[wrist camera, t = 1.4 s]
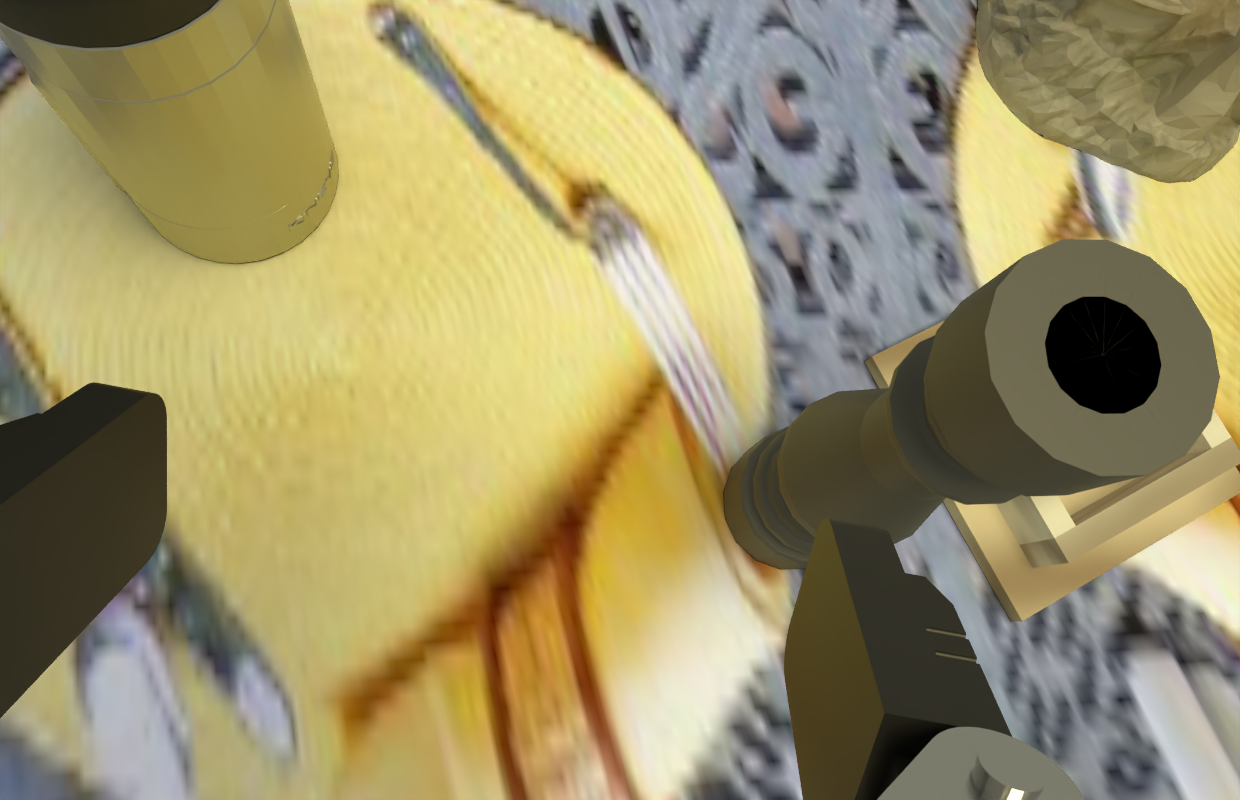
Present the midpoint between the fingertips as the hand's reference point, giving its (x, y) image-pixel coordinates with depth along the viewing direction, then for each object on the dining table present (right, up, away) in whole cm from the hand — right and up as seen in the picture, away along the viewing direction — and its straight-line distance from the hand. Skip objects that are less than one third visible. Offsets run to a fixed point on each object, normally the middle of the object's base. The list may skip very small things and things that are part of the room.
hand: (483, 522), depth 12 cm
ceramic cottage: (+29, +21, +44) cm, 57 cm away
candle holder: (+9, -3, +35) cm, 36 cm away
